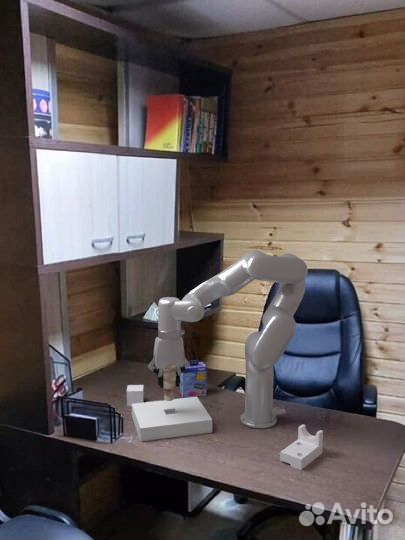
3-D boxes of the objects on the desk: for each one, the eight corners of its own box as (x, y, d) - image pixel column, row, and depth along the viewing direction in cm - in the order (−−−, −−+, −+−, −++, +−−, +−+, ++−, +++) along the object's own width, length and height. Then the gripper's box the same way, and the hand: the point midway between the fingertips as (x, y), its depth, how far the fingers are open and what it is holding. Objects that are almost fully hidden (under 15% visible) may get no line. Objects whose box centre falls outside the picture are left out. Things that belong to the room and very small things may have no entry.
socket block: (196, 408, 201) (196, 396, 200) (212, 432, 182) (212, 419, 181) (131, 415, 194) (131, 403, 194) (140, 441, 175) (140, 428, 175)
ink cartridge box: (182, 398, 210) (182, 362, 207) (179, 393, 215) (178, 358, 212) (207, 395, 213) (207, 360, 210) (203, 390, 218) (203, 355, 215)
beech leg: (174, 395, 190) (174, 359, 188) (177, 401, 185) (178, 364, 183) (159, 397, 188) (160, 360, 186) (162, 403, 183) (163, 365, 181)
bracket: (301, 446, 173) (302, 424, 171) (322, 453, 168) (323, 430, 167) (280, 463, 163) (280, 439, 162) (301, 471, 158) (301, 446, 157)
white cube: (127, 406, 203) (126, 391, 202) (128, 400, 208) (127, 385, 208) (143, 406, 203) (142, 390, 202) (143, 399, 209) (143, 384, 208)
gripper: (191, 330, 189) (190, 380, 192) (142, 332, 184) (142, 384, 187) (196, 336, 182) (195, 388, 185) (146, 339, 177) (146, 392, 180)
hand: (168, 385), depth 186 cm, fingers closed on beech leg, 4 cm apart
